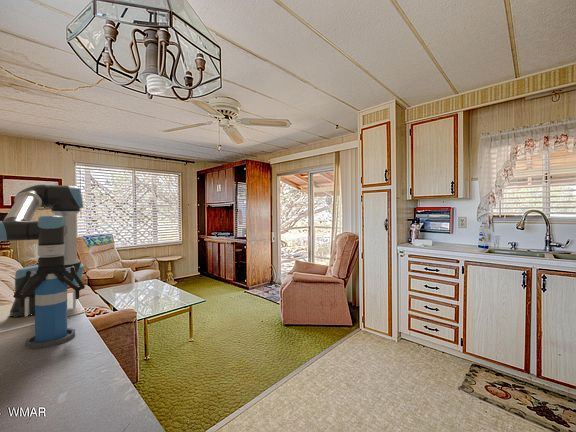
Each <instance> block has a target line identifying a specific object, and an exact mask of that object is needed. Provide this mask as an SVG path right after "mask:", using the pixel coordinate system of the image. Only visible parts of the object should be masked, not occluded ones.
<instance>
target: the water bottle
mask: <svg viewBox="0 0 576 432" xmlns="http://www.w3.org/2000/svg"><path fill="white" fill-rule="evenodd" d="M67 328H68V287H67V285H66V284H65V283H64V282H63V281H62V280H61V279H58V277H57V276H55V275H54V274H48V275H47V276H46V279H45V280H44V281H43V282H42V283H41V284H40V285H39V286H38V288H37V289H36V290H35V315H34V335H35V343H45V342H49V341H54V340H57V339H60V338H63V337H66V336H67Z"/></svg>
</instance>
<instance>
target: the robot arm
mask: <svg viewBox="0 0 576 432" xmlns="http://www.w3.org/2000/svg"><path fill="white" fill-rule="evenodd" d="M82 195H83V194H82V191H81V188H80V187H78V186H76V185H75V186H73V185H59V184H36V185H35V184H34V185H33V186H32V185H31V186H29V187H26V188H24V189H22V190H20V191H19V192H17V194H16V195H15V196H14V198H13V202H14V204H13V205H12V207H11V208H10V210H9V211H8V213H7V214H6V216H5V217H4V219H3V221H2V220H0V242H15V241H17V242H18V241H37V240H38V241H37V242H38V243H37V245H38V246H37V256H38V258H37V264H36V265H30V266H25V267H21V268H19V269H17V270H15V276H14V294H13V298H14V301H13V303H12V305H11V308H10V310H9V316H13V317H12V318H19V317H18V316H24V317H29V316H28V315H31V314H35V290H36V289H37V288H38V286H39V285H40V284H41V283H42V282H43V281H44V280H45V279H46V276H47V275H48V274H54V275H55V276H57V277H58V279H61V280H62V281H63V282H64V283H65V284H66V285H67V288H71V289H73V291H72V309H74V310H75V309H76V307H77V300H79V299H80V292H81V290H84V289H85V287H86V285H85V284H84V282H83V280H82V278H83V272H84V266H85V265H84V263H81V259H80V258H78V242H77V241H78V240H77V239H78V238H77V237H78V236H77V233H78V231H77V227H78V225H77V222H78V221H77V214H79V213H80V212H81V209H83V208H84V201H83V196H82ZM39 208H51V210H50V211H51V212H52V213H53V214H54V215H41V216H39V217H38V220H33V221H32V219H33V217H34V215H35V212H36V211H37V210H38V209H39ZM31 316H32V315H31Z"/></svg>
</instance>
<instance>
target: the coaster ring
mask: <svg viewBox="0 0 576 432" xmlns="http://www.w3.org/2000/svg"><path fill="white" fill-rule="evenodd" d="M75 336H76V329H74V328H70V327H67V336H66V337H63V338H60V339H57V340H54V341H49V342H45V343H35V334H34V335H32V336H31V337H29V338H27V339H26V340H25V342H24V347H25V348H26V349H29V350H30V349H31V350H39V349H47V348H51V347H55V346H58V345H61V344H64V343H66V342H68V341H70V340H72V339H74V338H75Z"/></svg>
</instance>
